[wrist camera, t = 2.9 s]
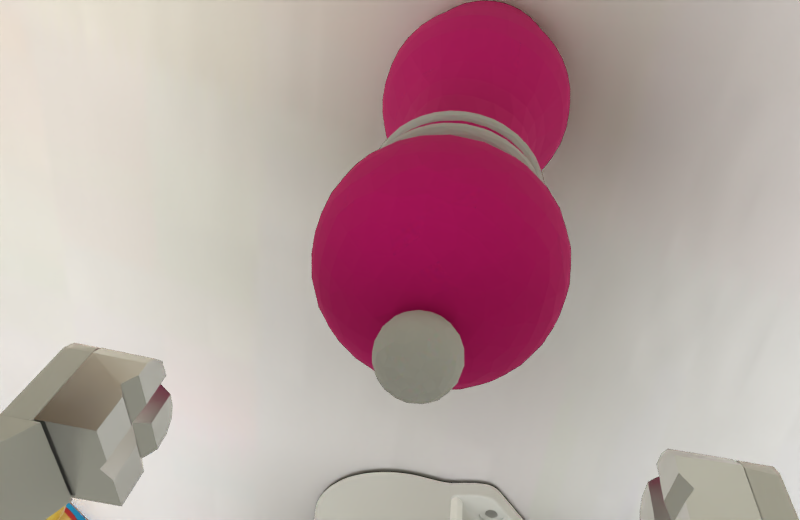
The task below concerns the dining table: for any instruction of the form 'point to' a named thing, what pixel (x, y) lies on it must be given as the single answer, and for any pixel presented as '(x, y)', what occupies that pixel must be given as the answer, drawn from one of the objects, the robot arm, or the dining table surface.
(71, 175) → the dining table surface
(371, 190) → the pepper mill
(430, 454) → the dining table surface
